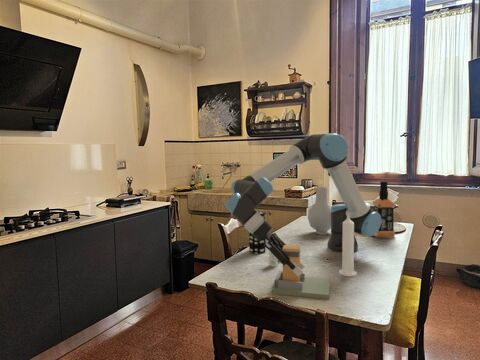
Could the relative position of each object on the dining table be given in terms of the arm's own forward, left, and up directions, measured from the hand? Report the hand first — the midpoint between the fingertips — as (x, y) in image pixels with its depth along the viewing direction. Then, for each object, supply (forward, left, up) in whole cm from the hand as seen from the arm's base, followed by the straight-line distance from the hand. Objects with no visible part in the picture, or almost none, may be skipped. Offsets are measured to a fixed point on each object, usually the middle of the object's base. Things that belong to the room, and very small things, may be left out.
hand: (301, 271), depth 130 cm
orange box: (+3, -2, -5) cm, 6 cm away
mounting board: (0, 0, -6) cm, 6 cm away
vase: (-44, -71, -7) cm, 84 cm away
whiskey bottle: (-74, -54, -7) cm, 92 cm away
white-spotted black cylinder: (+3, -48, -7) cm, 49 cm away
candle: (-24, -8, -7) cm, 26 cm away
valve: (0, -29, -7) cm, 30 cm away
